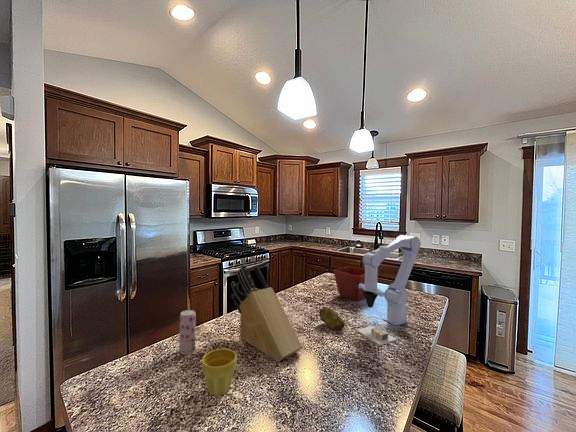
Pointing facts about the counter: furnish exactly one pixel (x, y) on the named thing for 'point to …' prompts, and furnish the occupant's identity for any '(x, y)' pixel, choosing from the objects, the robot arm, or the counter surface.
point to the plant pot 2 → (350, 282)
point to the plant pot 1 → (219, 370)
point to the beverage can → (187, 331)
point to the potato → (331, 318)
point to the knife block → (263, 317)
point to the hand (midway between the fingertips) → (370, 307)
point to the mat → (367, 333)
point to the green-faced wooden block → (379, 333)
